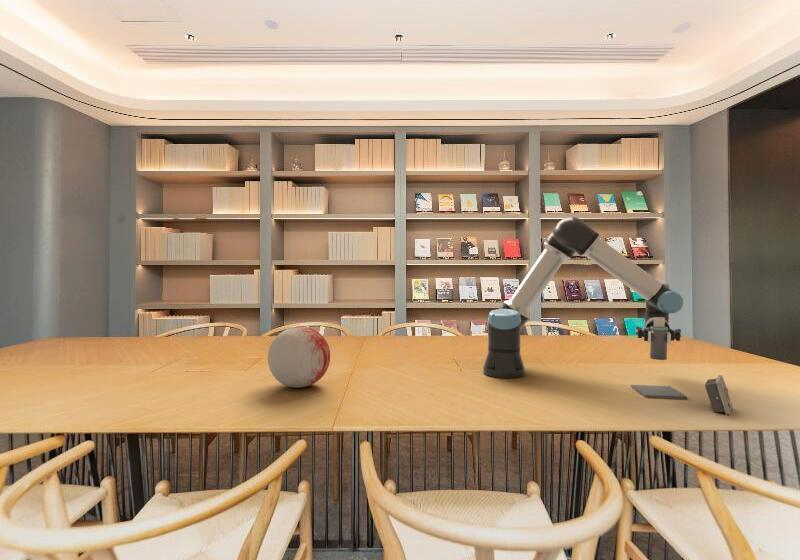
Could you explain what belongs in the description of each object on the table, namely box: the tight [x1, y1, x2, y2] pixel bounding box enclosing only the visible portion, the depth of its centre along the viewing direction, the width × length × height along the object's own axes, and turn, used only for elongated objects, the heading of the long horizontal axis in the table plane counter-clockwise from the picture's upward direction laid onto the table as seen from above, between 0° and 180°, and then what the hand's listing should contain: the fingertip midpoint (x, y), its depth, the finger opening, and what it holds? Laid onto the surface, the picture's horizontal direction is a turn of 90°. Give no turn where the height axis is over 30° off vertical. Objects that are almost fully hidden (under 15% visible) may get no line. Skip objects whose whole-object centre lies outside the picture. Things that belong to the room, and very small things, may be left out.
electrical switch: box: [704, 374, 733, 416], centre depth 132 cm, size 9×5×9 cm, turn 141°
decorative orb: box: [267, 326, 331, 389], centre depth 156 cm, size 21×20×20 cm
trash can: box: [649, 317, 668, 361], centre depth 148 cm, size 5×5×13 cm
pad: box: [630, 384, 688, 400], centre depth 149 cm, size 12×12×1 cm
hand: (659, 338), depth 144 cm, fingers closed on trash can, 4 cm apart
